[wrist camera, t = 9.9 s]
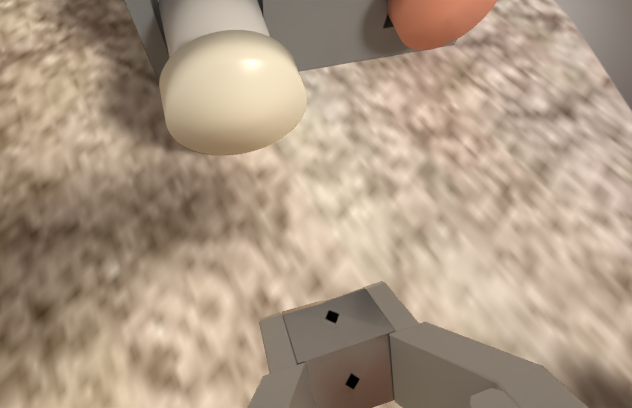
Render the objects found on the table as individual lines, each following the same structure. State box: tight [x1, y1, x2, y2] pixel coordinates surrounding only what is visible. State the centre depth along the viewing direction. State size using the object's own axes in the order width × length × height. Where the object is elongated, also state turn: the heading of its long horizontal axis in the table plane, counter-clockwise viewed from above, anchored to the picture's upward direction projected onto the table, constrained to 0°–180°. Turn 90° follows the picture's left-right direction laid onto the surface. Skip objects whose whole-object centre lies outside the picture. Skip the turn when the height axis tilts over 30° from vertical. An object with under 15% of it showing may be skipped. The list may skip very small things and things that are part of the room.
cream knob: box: [159, 0, 307, 155], centre depth 20 cm, size 7×8×7 cm
